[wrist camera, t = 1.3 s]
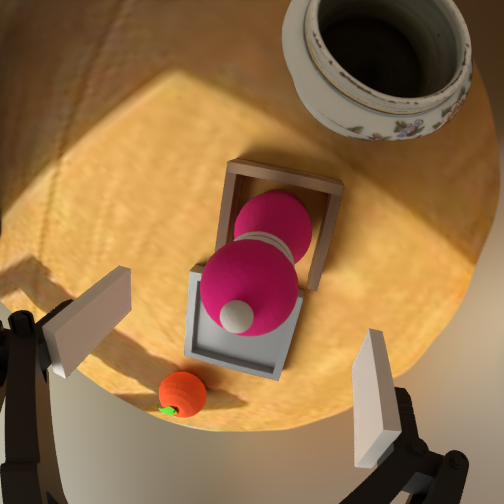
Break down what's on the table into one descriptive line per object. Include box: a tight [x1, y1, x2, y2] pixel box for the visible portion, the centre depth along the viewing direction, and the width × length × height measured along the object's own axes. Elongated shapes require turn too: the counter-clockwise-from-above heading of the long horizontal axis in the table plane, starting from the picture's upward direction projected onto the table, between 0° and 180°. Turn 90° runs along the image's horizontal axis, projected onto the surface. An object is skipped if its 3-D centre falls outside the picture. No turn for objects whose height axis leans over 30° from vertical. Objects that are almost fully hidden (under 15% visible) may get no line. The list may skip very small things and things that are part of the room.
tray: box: [184, 264, 304, 381], centre depth 39 cm, size 13×13×2 cm
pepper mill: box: [200, 190, 312, 336], centre depth 25 cm, size 7×7×20 cm
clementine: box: [158, 372, 206, 418], centre depth 43 cm, size 8×7×7 cm
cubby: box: [215, 158, 344, 291], centre depth 33 cm, size 11×11×4 cm
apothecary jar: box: [282, 0, 473, 141], centre depth 19 cm, size 12×12×18 cm
